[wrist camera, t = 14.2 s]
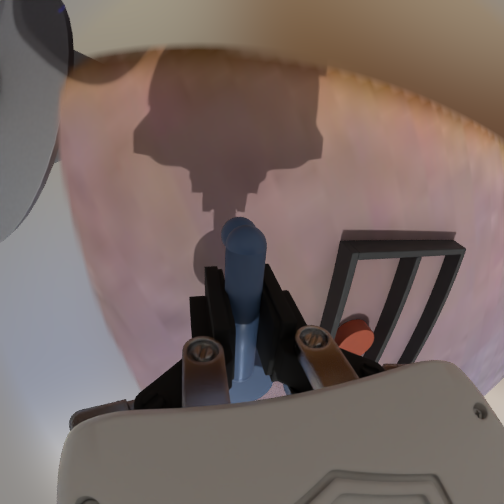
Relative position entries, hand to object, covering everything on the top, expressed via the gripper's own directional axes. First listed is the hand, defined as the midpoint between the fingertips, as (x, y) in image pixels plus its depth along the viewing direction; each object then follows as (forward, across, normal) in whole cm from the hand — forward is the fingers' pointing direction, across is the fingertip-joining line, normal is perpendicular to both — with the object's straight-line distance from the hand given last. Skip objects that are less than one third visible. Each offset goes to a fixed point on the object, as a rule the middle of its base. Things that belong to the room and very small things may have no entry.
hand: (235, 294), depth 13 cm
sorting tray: (+7, -16, +11) cm, 20 cm away
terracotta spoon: (+6, -12, +14) cm, 20 cm away
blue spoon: (0, 0, +2) cm, 2 cm away
